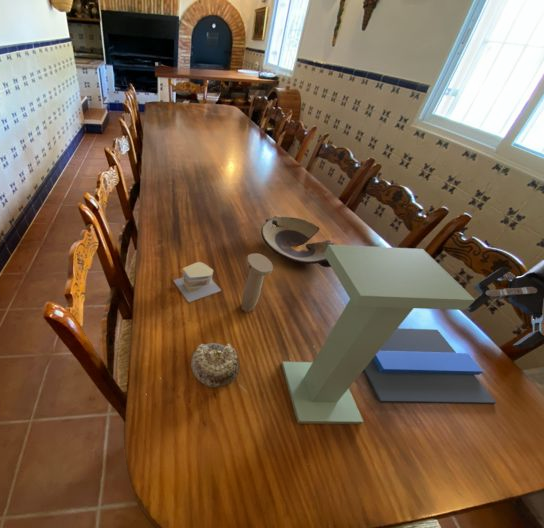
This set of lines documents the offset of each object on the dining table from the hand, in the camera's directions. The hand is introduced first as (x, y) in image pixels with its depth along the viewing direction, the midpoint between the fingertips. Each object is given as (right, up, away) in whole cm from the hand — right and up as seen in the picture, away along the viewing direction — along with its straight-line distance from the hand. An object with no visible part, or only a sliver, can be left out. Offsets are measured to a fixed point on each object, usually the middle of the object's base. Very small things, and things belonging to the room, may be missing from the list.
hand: (493, 328), depth 56 cm
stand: (-32, -13, +3) cm, 35 cm away
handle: (-43, +1, +19) cm, 47 cm away
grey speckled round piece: (-52, -9, +6) cm, 53 cm away
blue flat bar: (-6, -10, +9) cm, 15 cm away
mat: (-8, -10, +10) cm, 16 cm away
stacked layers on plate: (-56, +6, +24) cm, 61 cm away
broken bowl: (-24, +15, +38) cm, 47 cm away
